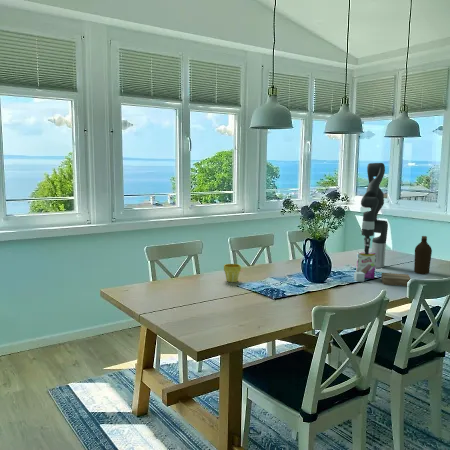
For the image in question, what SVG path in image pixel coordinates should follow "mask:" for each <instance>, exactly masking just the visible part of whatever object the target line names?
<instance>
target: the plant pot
mask: <svg viewBox="0 0 450 450" xmlns="http://www.w3.org/2000/svg"><path fill="white" fill-rule="evenodd" d="M241 270H242V266H241V264H237V263H226V264H224V265H223V272H224V274H225V278H226V281H227V282H229V283H237V282H238V280H239V275H240V272H241Z"/></svg>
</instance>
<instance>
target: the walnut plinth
mask: <svg viewBox="0 0 450 450" xmlns="http://www.w3.org/2000/svg"><path fill="white" fill-rule="evenodd" d="M380 278H381V282H382V285H386V286H399V285H402V286H401V287H403V286H404V287H408V286H407V282H408V281H409V280H410V279H411V280H412V278H411V276H410V275H409V274H406V273H405V274H404V273H392V272H381V277H380Z"/></svg>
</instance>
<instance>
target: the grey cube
mask: <svg viewBox="0 0 450 450" xmlns="http://www.w3.org/2000/svg"><path fill="white" fill-rule="evenodd" d="M353 273H354V274H353V280H354V281H355V282H365V278H364V277H365V274H364V273H363V272H356V271H354V272H353Z"/></svg>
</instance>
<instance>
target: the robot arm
mask: <svg viewBox="0 0 450 450" xmlns="http://www.w3.org/2000/svg"><path fill="white" fill-rule="evenodd" d="M366 172H367V180H368V185H367V188H366V192H365V194H363V195H362V198H361V200H360V205H361V207H362V208H366V209H367V208H368V209H370V210H369V211H368V210H367V211H364V212H363V213H362V214H363V215H362V225H361V236H364V238H363V244H364V250H363V252H365V254H367V255H368V254H369V252H370V246H371V252H374V253H376V262H375V268H384V267H385V261H386V248H387V247H386V246H387V239H388V238H387V237H388V229H389V228H388V227H389V223H388V221H387V220H383V219H378V214H379V212H380V210H381V209H382V208H383V207H384V204H385V196H384V193H383V190H382V189H381V188H380V186H381V183H382V180H383V178H384V176H385V173H386V166H385V163H383V162H371V163H368V164H367V167H366ZM376 233H377V234H380V235H379V236H376V237H373V236H374V235H375V234H376ZM370 237H373V238H370ZM371 239H372V240H371ZM371 241H372V242H371ZM371 243H372V244H371Z"/></svg>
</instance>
